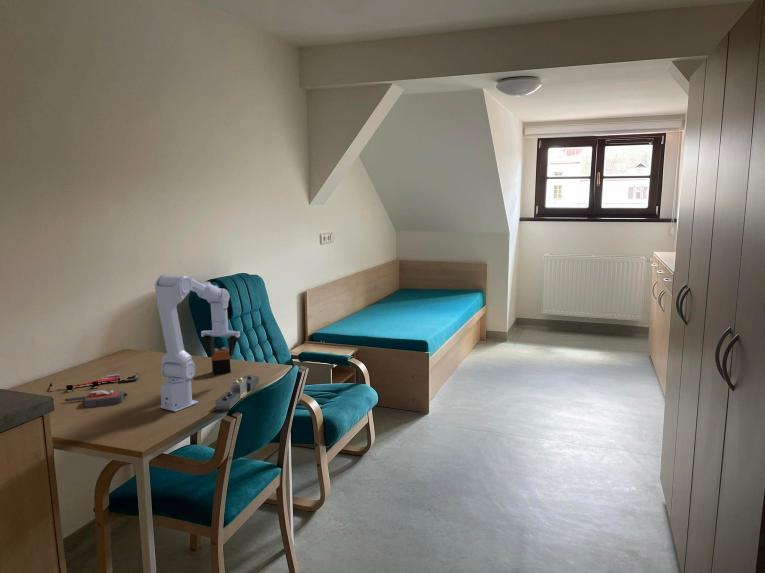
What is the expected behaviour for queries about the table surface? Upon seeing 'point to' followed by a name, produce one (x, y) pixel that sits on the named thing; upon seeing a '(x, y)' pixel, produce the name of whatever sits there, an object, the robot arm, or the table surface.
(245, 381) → the block with brass knobs
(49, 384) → the table surface
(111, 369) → the table surface
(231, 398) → the studded link strip
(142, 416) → the table surface
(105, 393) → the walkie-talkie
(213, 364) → the battery
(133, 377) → the red black toy gun
